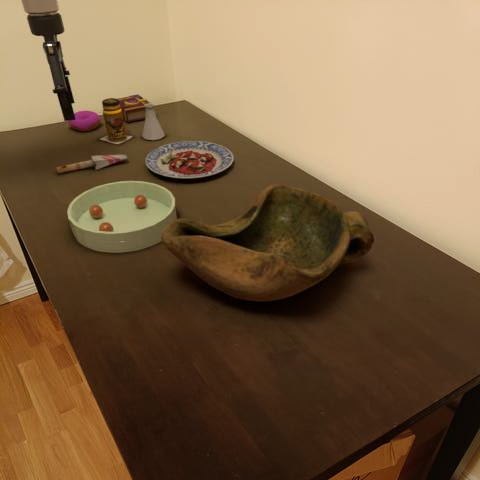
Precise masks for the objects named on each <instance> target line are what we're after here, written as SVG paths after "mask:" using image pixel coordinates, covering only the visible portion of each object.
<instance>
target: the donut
mask: <svg viewBox="0 0 480 480" xmlns="http://www.w3.org/2000/svg"><path fill="white" fill-rule="evenodd" d="M74 115H75V118H76V120H70V121H67V124H68V125H69V126H70V128H71V129H73V130H76V131H79V132H83V133H85V132H90V131H93V130H95V129H96V128H98V127H99V125H100V122H101V120H102V117H101V116H100V115H99V114H98V113H97V112H96V111H91V110H79V111H77V112H74Z"/></svg>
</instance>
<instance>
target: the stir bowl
mask: <svg viewBox="0 0 480 480" xmlns="http://www.w3.org/2000/svg"><path fill="white" fill-rule="evenodd" d="M137 195H143V196H145V197H146V199H147V205H146V206H145V207H144V208H138V207H137V206H136V205H135V203H134V199H135V197H136V196H137ZM92 205H99V206H100V207H101V208H102V209H103V215H102V216H101V217H100V218H93V217H92V216H91V215H90V213H89V209H90V207H91V206H92ZM177 213H178V212H177V203H176V198H175V196H174V194H173V192H172V191H170V190H169V189H167V188H166V187H164V186H161V185H159V184H156V183H153V182H148V181H142V180H140V181H139V180H123V181H121V180H120V181H114V182H109V183H105V184H100V185H97V186H94V187H92V188H90V189H88V190H85V191H83V192H82V193H80V194H79V195H77V196H76V197H75V198H74V199H73V200H72V201H71V202H70V203H69V206H68V208H67V210H66V215H67V218H68V221H69V225H70V228H71V231H72V235H73V236H74V239H75V240H76V241H77V242H78V243H79V244H81V245H82V246H83V247H85V248H87V249H89V250H93V251H96V252H101V253H111V254H113V253H114V254H117V253H120V254H123V253H130V252H137V251H140V250H144V249H147V248H150V247H152V246H155V245H157V244H159V243H161V242H162V239H161V237H162V232H163V230H164V229H165V227H166V226H167V225H168V224H169V223H170V222H172V221H174V220H176V219H178V214H177ZM104 222H108V223H110V224H111V225H112V226H113V229H114V231H113V232H107V231H99V226H100V224H102V223H104Z"/></svg>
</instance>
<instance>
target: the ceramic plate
mask: <svg viewBox="0 0 480 480" xmlns="http://www.w3.org/2000/svg"><path fill="white" fill-rule="evenodd" d="M233 162H234V154H233V152H232V151H231V150H229V148H227V147H225V146H224V145H220V144H217V143H214V142H209V141H202V140H201V141H200V140H184V141H177V142H171V143H168V144H167V143H166V144H164V145H161V146H159V147H157V148H154V149H153V150H152V151H150V152H149V153H148V154H147V156H146V157H145V165H146V167H147V168H148V169H149V170H150V171H151V172H153V173H155V174H157V175H159V176H162V177H167V178H171V179H172V178H173V179H182V180H186V179H190V180H191V179H199V178H200V179H202V178H205V177H210V176H215V175H216V174H220V173H222V172H223V171H226V170H227V169H228V168H229V167H230V166H232V164H233Z"/></svg>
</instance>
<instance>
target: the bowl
mask: <svg viewBox="0 0 480 480" xmlns="http://www.w3.org/2000/svg"><path fill="white" fill-rule="evenodd" d="M161 239H162V241H161V242H162V244H163V245H164V247H165V248H166V249H167V250H168V251H169V252H170V253H171V254H172V255H173V256H174V257H175V258H177V260H179V261H180V262H181V263H182V264H183V265H185V266H186V267H187V268H188V269H189V270H190V271H192V272H193V273H194V274H195V275H196V276H198V277H199V278H200V279H201V280H202V281H204V282H205V283H207V284H208V285H209V286H211V287H213V288H215V289H216V290H219V291H220V292H222V293H224V294H226V295H228V296H230V297H231V298H234V299H241V300H245V301H250V302H261V303H263V302H272V301H278V300H283V299H286V298H289V297H292V296H294V295H295V296H296V295H297V294H299V293H302V292H303V291H306V290H307V289H309V288H311V287H313V286H315V285H317V284H319V283H320V282H321V281H323V280H324V279H326V278H327V277H329V275H330V274H332V273H333V272H334V271H335V270H336V268H337V267H338V266H339V265H340V264H350V263H353V262H355V261H358V260H359V259H361V258H364V257H365V256H366V255H367V254H368V253H369V252H370V251H371V249H372V247H373V244H374V243H375V237H374V234H373V232H372V231H371V229H370V227H369V223H368V220H367V218H366V217H365V216H364V215H363V214H361V213H360V212H359V211H356V210H351V211H350V210H349V211H344V210H343V208H341V207H340V206H339V205H338V204H337V203H336V202H334V201H333V200H331V199H328V198H327V197H325V196H323V195H321V194H318V193H316V192H313V191H310V190H306V189H304V188H301V187H297V186H291V185H285V184H280V183H276V184H270V185H268V186H267V187H265V188H264V189H263V190H261V191H260V192H259V193H258V194H257V195H256V197H255V198H254V199H253V200H252V201H251V203H249V205H248V206H247V208H245V209H244V210H243V211H242V212H241V213H240V214H238V215H237V216H235V217H234V218H232V219H230V220H228V221H226V222H222V223H219V224H209V223H205V222H203V221H199V220H195V219H191V218H184V217H183V218H177V219H176V220H174V221H172V222H170V223H169V224H168V225H167V226H166V227H165V229H164V230H163V232H162V237H161Z"/></svg>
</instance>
